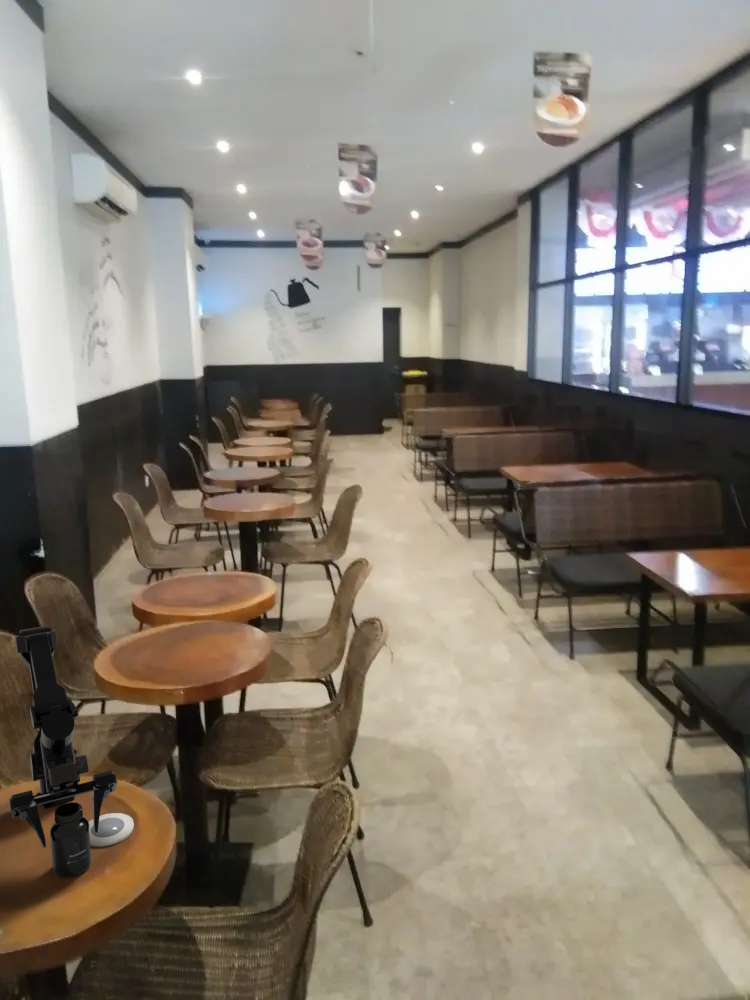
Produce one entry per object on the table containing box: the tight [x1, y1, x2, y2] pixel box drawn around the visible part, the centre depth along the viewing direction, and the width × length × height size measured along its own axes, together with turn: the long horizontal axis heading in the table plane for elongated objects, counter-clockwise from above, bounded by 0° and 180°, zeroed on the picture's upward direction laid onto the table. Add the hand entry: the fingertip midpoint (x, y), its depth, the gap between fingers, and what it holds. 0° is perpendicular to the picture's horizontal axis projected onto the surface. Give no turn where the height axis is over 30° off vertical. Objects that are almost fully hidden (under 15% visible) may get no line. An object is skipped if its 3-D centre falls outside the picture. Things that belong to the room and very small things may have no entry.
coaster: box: [88, 812, 135, 848], centre depth 157 cm, size 10×10×1 cm
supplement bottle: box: [49, 801, 92, 879], centre depth 145 cm, size 7×7×12 cm
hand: (71, 839), depth 144 cm, fingers open, 9 cm apart
